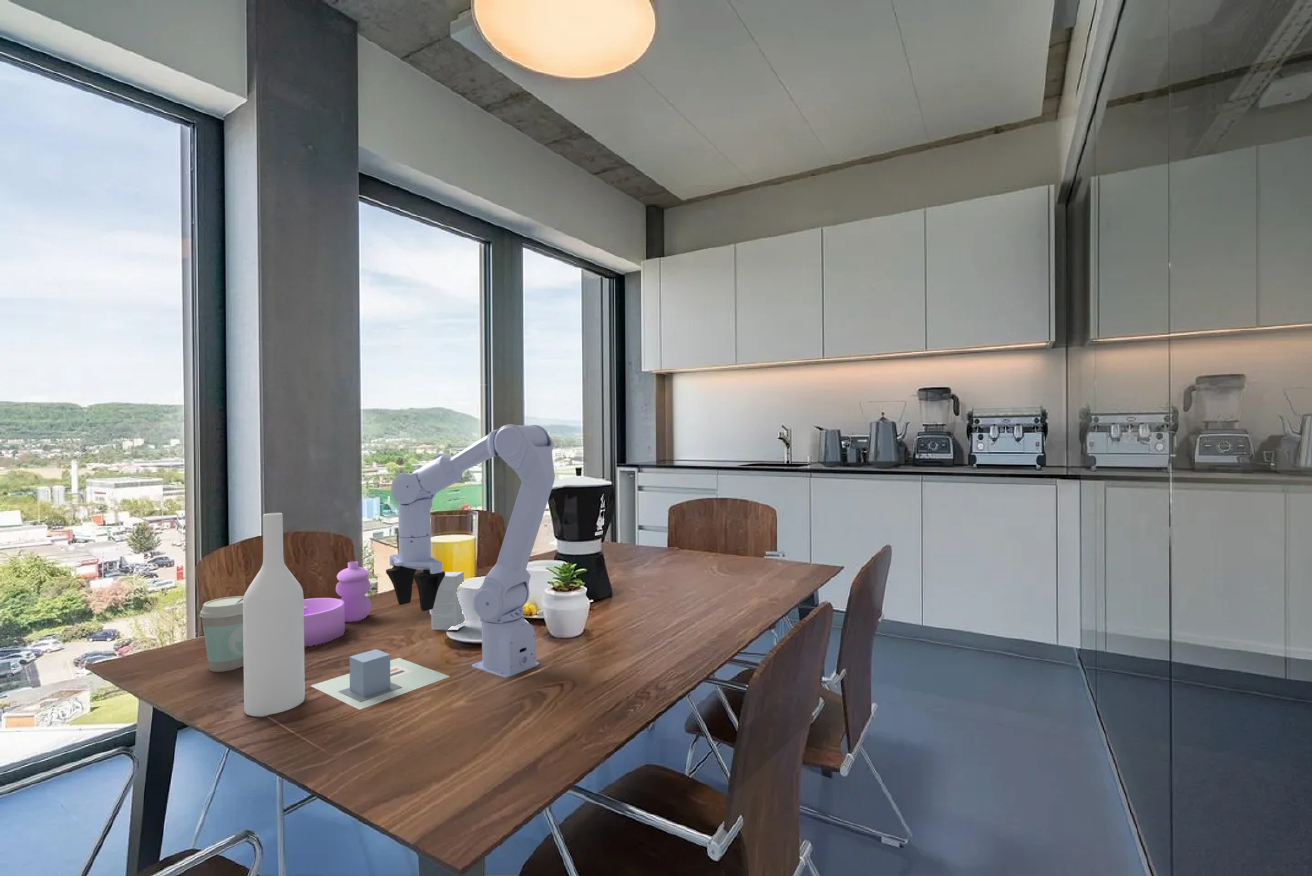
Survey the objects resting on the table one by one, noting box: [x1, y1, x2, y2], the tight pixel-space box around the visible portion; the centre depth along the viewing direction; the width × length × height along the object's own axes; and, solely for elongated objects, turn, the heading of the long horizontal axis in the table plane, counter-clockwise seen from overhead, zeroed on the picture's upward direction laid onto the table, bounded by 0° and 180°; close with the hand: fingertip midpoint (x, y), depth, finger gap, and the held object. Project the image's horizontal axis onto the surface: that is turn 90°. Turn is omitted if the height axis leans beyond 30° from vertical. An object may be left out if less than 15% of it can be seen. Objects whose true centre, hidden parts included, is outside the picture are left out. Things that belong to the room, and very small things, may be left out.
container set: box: [304, 561, 372, 647], centre depth 136 cm, size 25×15×13 cm, turn 163°
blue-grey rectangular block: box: [348, 649, 391, 697], centre depth 102 cm, size 4×4×6 cm
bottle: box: [243, 512, 306, 718], centre depth 97 cm, size 8×8×30 cm
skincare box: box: [430, 571, 466, 632], centre depth 136 cm, size 6×4×12 cm
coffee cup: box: [199, 595, 244, 673], centre depth 114 cm, size 8×9×12 cm
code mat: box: [310, 657, 451, 710], centre depth 106 cm, size 16×16×1 cm
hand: (415, 606), depth 119 cm, fingers open, 7 cm apart
